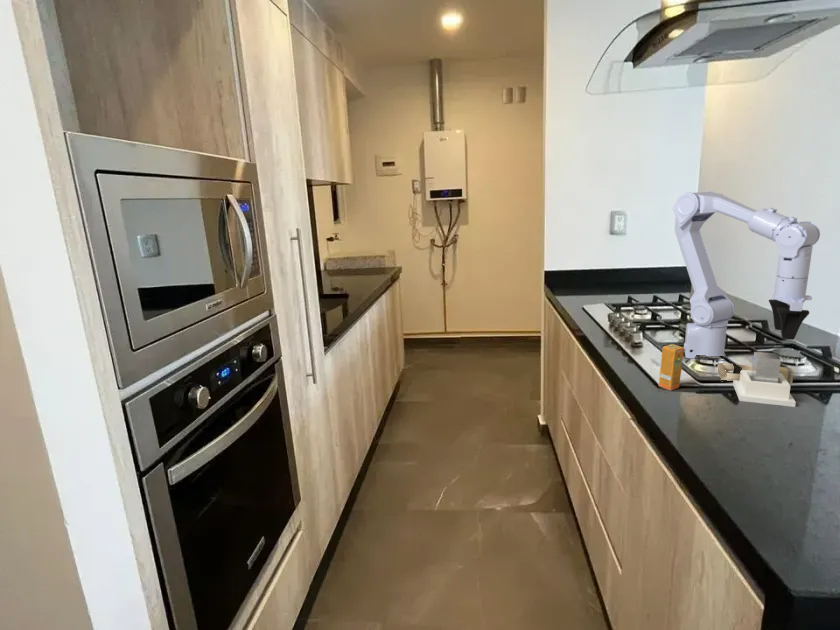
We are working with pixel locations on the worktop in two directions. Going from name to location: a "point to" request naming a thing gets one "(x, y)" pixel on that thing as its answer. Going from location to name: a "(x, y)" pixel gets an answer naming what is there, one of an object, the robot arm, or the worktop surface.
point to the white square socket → (763, 390)
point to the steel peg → (765, 367)
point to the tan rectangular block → (787, 373)
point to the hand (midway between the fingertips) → (784, 334)
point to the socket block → (730, 367)
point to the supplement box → (671, 367)
